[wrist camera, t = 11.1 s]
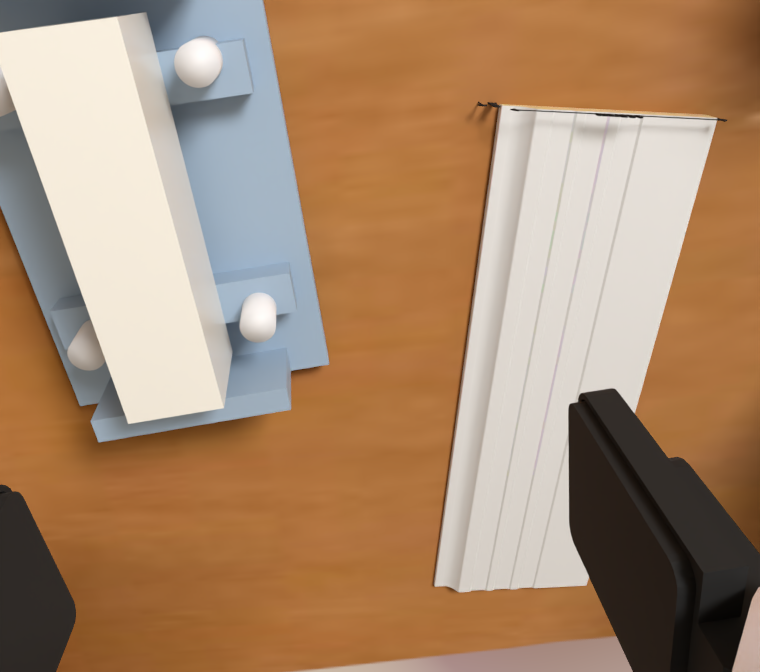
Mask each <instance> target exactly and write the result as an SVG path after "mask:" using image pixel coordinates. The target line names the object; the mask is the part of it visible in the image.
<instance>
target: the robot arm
mask: <svg viewBox="0 0 760 672" xmlns="http://www.w3.org/2000/svg"><path fill="white" fill-rule="evenodd" d="M568 444H569V527H570V532H571V536H572V540H573V543H574V545H575V547H576V550H577V552H578V554H579V556H580V558H581V560H582V562H583V565H584V567H585V569H586V571H587V573H588V575H589V578H590V580H591V582H592V584H593V586H594V588H595V591H596V593H597V595H598V597H599V599H600V601H601V603H602V606H603V608H604V610H605V612H606V614H607V616H608V619H609V621H610V623H611V625H612V627H613V629H614V632H615V634H616V636H617V638H618V640H619V642H620V644H621V647H622V649H623V651H624V653H625V655H626V657H627V660H628V662H629V664H630V666H631V668H632V670H633V672H760V554H759V553H758V551H757V550H756V549H755V548H754V546H753V545H752V544H751V542H750V541H749V540H748V539H747V537H746V536H745V535H744V534H743V532H742V531H741V530H740V528H739V527H738V526H737V525H736V523H735V522H734V521H733V520H732V518H731V517H730V516H729V514H728V513H727V512H726V511H725V509H724V508H723V507H722V506H721V504H720V503H719V502H718V501H717V499H716V498H715V497H714V495H713V494H712V493H711V492H710V490H709V489H708V488H707V487H706V485H705V484H704V483H703V481H702V480H701V479H700V478H699V476H698V475H697V474H696V473H695V471H694V470H693V469H692V467H691V466H690V465H689V464H688V463H687V462H686V461H685V460H684V459H682V458H679V457H674V458H668V457H667V456H666V455H665V453H664V452H663V451H662V449H661V448H660V447H659V445H658V444H657V443H656V441H655V440H654V439H653V437H652V436H651V435H650V433H649V432H648V431H647V429H646V428H645V427H644V426H643V424H642V423H641V422H640V420H639V419H638V418H637V416H636V415H635V414H634V412H633V411H632V410H631V408H630V407H629V406H628V404H627V403H626V402H625V400H624V399H623V398H622V396H621V395H620V394H619V392H618V391H617V390H616V389H614V388H610V389H604V390H597V391H591V392H585V393H581V394H580V395H579V398H578V402H576V403H571V404H569V408H568ZM75 618H76V609H75V604H74V601H73V599H72V597H71V595H70V593H69V590H68V588H67V586H66V584H65V582H64V580H63V578H62V576H61V574H60V572H59V570H58V568H57V566H56V564H55V562H54V560H53V558H52V556H51V553H50V551H49V549H48V547H47V545H46V543H45V541H44V539H43V537H42V535H41V533H40V531H39V529H38V527H37V525H36V523H35V521H34V519H33V516H32V514H31V512H30V510H29V508H28V506H27V504H26V502H25V500H24V498H23V496H22V495H21V494H20V493H19V492H15V491H14V492H12V490H11V489H10V488H9V487H8V486H6V485H0V672H56V670H57V668H58V665H59V663H60V660H61V657H62V655H63V652H64V650H65V647H66V645H67V642H68V639H69V637H70V634H71V632H72V629H73V627H74V623H75Z"/></svg>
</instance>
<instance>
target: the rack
mask: <svg viewBox="0 0 760 672" xmlns="http://www.w3.org/2000/svg"><path fill="white" fill-rule="evenodd" d="M143 12H146V13H147V17H148V21H149V25H150V28H151V32H152V36H153V40H154V44H155V48H156V52H157V56H158V60H159V64H160V68H161V72H162V76H163V80H164V84H165V88H166V91H167V95H168V99H169V103H170V107H171V111H172V115H173V119H174V123H175V127H176V131H177V135H178V139H179V143H180V147H181V151H182V154H183V158H184V162H185V166H186V170H187V174H188V178H189V182H190V186H191V190H192V194H193V198H194V202H195V206H196V210H197V214H198V217H199V221H200V225H201V229H202V233H203V237H204V241H205V245H206V249H207V253H208V257H209V261H210V265H211V269H212V273H213V277H214V280H215V284H216V288H217V292H218V296H219V300H220V304H221V308H222V312H223V316H224V320H225V324H226V328H227V332H228V336H229V340H230V343H231V347H232V351H233V352H232V359H231V365H230V372H229V378H228V385H227V391H226V398H225V405H224V408H222V409H216V410H210V411H204V412H198V413H192V414H186V415H180V416H174V417H168V418H162V419H156V420H150V421H144V422H137V423H131V424H128V422H127V419H126V416H125V413H124V410H123V408H122V405H121V402H120V399H119V396H118V394H117V391H116V388H115V385H114V382H113V380H112V377H111V374H110V371H109V368H108V366H107V363H106V360H105V357H104V355H103V352H102V349H101V346H100V343H99V341H98V338H97V335H96V332H95V329H94V327H93V324H92V321H91V318H90V315H89V313H88V310H87V307H86V304H85V301H84V299H83V296H82V293H81V290H80V287H79V285H78V282H77V279H76V276H75V273H74V271H73V268H72V265H71V262H70V260H69V257H68V254H67V251H66V248H65V246H64V243H63V240H62V237H61V234H60V232H59V229H58V226H57V223H56V220H55V218H54V215H53V212H52V209H51V206H50V204H49V201H48V198H47V195H46V192H45V190H44V187H43V184H42V181H41V179H40V176H39V173H38V170H37V167H36V165H35V162H34V159H33V156H32V153H31V151H30V148H29V145H28V142H27V139H26V137H25V134H24V131H23V128H22V125H21V123H20V120H19V117H18V114H17V111H16V109H15V106H14V103H13V100H12V97H11V95H10V92H9V89H8V86H7V84H6V81H5V78H4V75H3V72H2V70H1V67H0V206H1V209H2V211H3V214H4V216H5V219H6V221H7V224H8V226H9V229H10V231H11V234H12V236H13V239H14V241H15V244H16V247H17V249H18V252H19V254H20V257H21V259H22V262H23V264H24V267H25V269H26V272H27V274H28V277H29V279H30V282H31V284H32V287H33V289H34V292H35V294H36V297H37V299H38V302H39V304H40V307H41V309H42V312H43V314H44V317H45V319H46V322H47V324H48V327H49V329H50V332H51V334H52V337H53V339H54V342H55V344H56V347H57V349H58V352H59V354H60V357H61V359H62V362H63V364H64V367H65V369H66V372H67V374H68V377H69V379H70V382H71V384H72V387H73V389H74V392H75V394H76V397H77V399H78V402H79V404H80V406H85V405H91V404H97V403H99V404H98V406H97V408H96V410H95V412H94V415H93V417H92V419H91V421H90V422H91V424H92V427H93V429H94V432H95V434H96V437H97V439H98V442H104V441H110V440H116V439H122V438H128V437H134V436H139V435H145V434H151V433H157V432H163V431H169V430H175V429H180V428H186V427H192V426H198V425H204V424H210V423H215V422H221V421H227V420H233V419H239V418H245V417H251V416H256V415H262V414H268V413H274V412H280V411H286V410H291V371H293V370H299V369H305V368H311V367H317V366H323V365H329V358H328V351H327V345H326V340H325V334H324V329H323V323H322V318H321V312H320V307H319V302H318V296H317V291H316V285H315V280H314V274H313V269H312V263H311V258H310V252H309V247H308V242H307V236H306V231H305V225H304V220H303V214H302V209H301V203H300V198H299V192H298V187H297V182H296V176H295V171H294V165H293V160H292V154H291V149H290V143H289V138H288V132H287V127H286V122H285V116H284V111H283V105H282V100H281V94H280V89H279V83H278V78H277V73H276V67H275V62H274V56H273V51H272V45H271V40H270V34H269V29H268V23H267V18H266V13H265V7H264V2H263V0H0V32H7V31H13V30H20V29H26V28H33V27H40V26H47V25H54V24H62V23H69V22H77V21H84V20H91V19H99V18H106V17H114V16H121V15H129V14H136V13H143Z"/></svg>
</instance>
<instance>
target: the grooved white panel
mask: <svg viewBox="0 0 760 672" xmlns="http://www.w3.org/2000/svg"><path fill="white" fill-rule="evenodd" d="M478 103H479V104H478V105H479V106H487V105H483V104H481V103H480V102H478ZM488 104H490V105H492V106H493V107H498V108H499V111H498V118H497V126H496V133H495V140H494V148H493V155H492V162H491V169H490V177H489V184H488V191H487V199H486V206H485V213H484V220H483V228H482V235H481V242H480V250H479V257H478V264H477V271H476V279H475V286H474V293H473V301H472V308H471V315H470V322H469V330H468V337H467V344H466V351H465V359H464V366H463V373H462V381H461V388H460V395H459V402H458V410H457V417H456V424H455V432H454V439H453V446H452V453H451V461H450V468H449V475H448V483H447V490H446V497H445V504H444V512H443V519H442V526H441V534H440V541H439V548H438V555H437V563H436V570H435V577H434V586H448V587H451V588H453V589H454V590H456V591H457V592H470V591H471V590H487V591H491V590H494V589H518V588H528V587H533V588H547V587H566V586H585V585H587V581H588V578H589V575H588V573H587V571H586V569H585V567H584V565H583V562H582V560H581V558H580V556H579V554H578V552H577V550H576V547H575V545H574V543H573V540H572V536H571V532H570V527H569V444H568V408H569V404H571V403H576V402H578V398H579V395H580V394H581V393H585V392H591V391H597V390H604V389H610V388H614V389H616V390H617V391H618V392H619V394H620V395H621V396H622V398H623V399H624V400H625V402H626V403H627V404H628V406H629V407H630V408H631V410H632V411H633V412H634V414H635V411H636V407H637V403H638V400H639V396H640V393H641V389H642V386H643V382H644V379H645V375H646V371H647V368H648V364H649V361H650V357H651V354H652V350H653V347H654V343H655V339H656V336H657V332H658V329H659V325H660V322H661V318H662V315H663V311H664V307H665V304H666V300H667V297H668V293H669V290H670V286H671V282H672V279H673V275H674V272H675V268H676V265H677V261H678V258H679V254H680V250H681V247H682V243H683V240H684V236H685V233H686V229H687V226H688V222H689V218H690V215H691V211H692V208H693V204H694V201H695V197H696V194H697V190H698V186H699V183H700V179H701V176H702V172H703V169H704V165H705V162H706V158H707V154H708V151H709V147H710V144H711V140H712V137H713V133H714V129H715V126H716V122H717V120H720V121H724V122H725V121H727V120H725V119H719V118H716V117H713V116H709V115H703V114H683V113H664V112H644V111H625V110H605V109H585V108H566V107H546V106H526V105H507V104H499V105H497V103H489V102H488Z"/></svg>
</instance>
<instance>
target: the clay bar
mask: <svg viewBox="0 0 760 672" xmlns="http://www.w3.org/2000/svg"><path fill="white" fill-rule="evenodd" d="M0 67H1V70H2V72H3V75H4V78H5V81H6V84H7V86H8V89H9V92H10V95H11V97H12V100H13V103H14V106H15V109H16V111H17V114H18V117H19V120H20V123H21V125H22V128H23V131H24V134H25V137H26V139H27V142H28V145H29V148H30V151H31V153H32V156H33V159H34V162H35V165H36V167H37V170H38V173H39V176H40V179H41V181H42V184H43V187H44V190H45V192H46V195H47V198H48V201H49V204H50V206H51V209H52V212H53V215H54V218H55V220H56V223H57V226H58V229H59V232H60V234H61V237H62V240H63V243H64V246H65V248H66V251H67V254H68V257H69V260H70V262H71V265H72V268H73V271H74V273H75V276H76V279H77V282H78V285H79V287H80V290H81V293H82V296H83V299H84V301H85V304H86V307H87V310H88V313H89V315H90V318H91V321H92V324H93V327H94V329H95V332H96V335H97V338H98V341H99V343H100V346H101V349H102V352H103V355H104V357H105V360H106V363H107V366H108V368H109V371H110V374H111V377H112V380H113V382H114V385H115V388H116V391H117V394H118V396H119V399H120V402H121V405H122V408H123V410H124V413H125V416H126V419H127V422H128V424H131V423H137V422H144V421H150V420H156V419H162V418H168V417H174V416H180V415H186V414H192V413H198V412H204V411H210V410H216V409H222V408H224V405H225V398H226V391H227V385H228V378H229V372H230V365H231V359H232V352H233V351H232V347H231V343H230V340H229V336H228V332H227V328H226V324H225V320H224V316H223V312H222V308H221V304H220V300H219V296H218V292H217V288H216V284H215V280H214V277H213V273H212V269H211V265H210V261H209V257H208V253H207V249H206V245H205V241H204V237H203V233H202V229H201V225H200V221H199V217H198V214H197V210H196V206H195V202H194V198H193V194H192V190H191V186H190V182H189V178H188V174H187V170H186V166H185V162H184V158H183V154H182V151H181V147H180V143H179V139H178V135H177V131H176V127H175V123H174V119H173V115H172V111H171V107H170V103H169V99H168V95H167V91H166V88H165V84H164V80H163V76H162V72H161V68H160V64H159V60H158V56H157V52H156V48H155V44H154V40H153V36H152V32H151V28H150V25H149V21H148V17H147V13H146V12H143V13H136V14H129V15H121V16H114V17H106V18H99V19H91V20H84V21H77V22H69V23H62V24H54V25H47V26H40V27H33V28H26V29H20V30H13V31H7V32H0Z"/></svg>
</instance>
